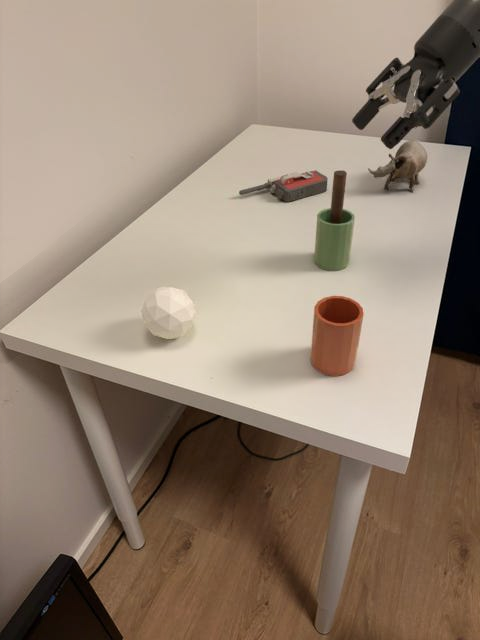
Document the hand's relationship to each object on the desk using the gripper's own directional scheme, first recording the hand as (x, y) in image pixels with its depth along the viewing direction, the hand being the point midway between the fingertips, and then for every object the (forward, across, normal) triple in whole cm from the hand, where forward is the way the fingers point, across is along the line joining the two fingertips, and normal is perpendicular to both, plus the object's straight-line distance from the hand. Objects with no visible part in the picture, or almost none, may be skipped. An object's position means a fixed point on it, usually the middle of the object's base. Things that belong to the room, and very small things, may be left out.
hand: (369, 135), depth 69 cm
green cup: (+18, -6, +16) cm, 25 cm away
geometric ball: (+40, +4, -6) cm, 41 cm away
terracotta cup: (+26, +18, +9) cm, 32 cm away
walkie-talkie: (+16, -35, +17) cm, 42 cm away
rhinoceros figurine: (-2, -29, +35) cm, 46 cm away
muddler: (+17, -6, +16) cm, 24 cm away
